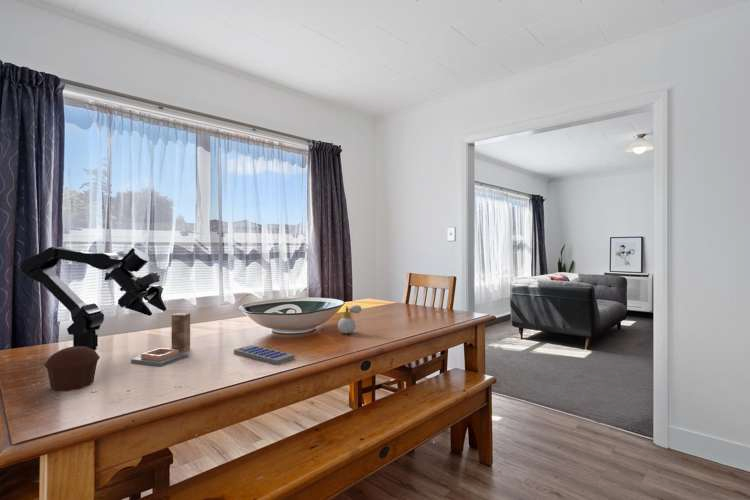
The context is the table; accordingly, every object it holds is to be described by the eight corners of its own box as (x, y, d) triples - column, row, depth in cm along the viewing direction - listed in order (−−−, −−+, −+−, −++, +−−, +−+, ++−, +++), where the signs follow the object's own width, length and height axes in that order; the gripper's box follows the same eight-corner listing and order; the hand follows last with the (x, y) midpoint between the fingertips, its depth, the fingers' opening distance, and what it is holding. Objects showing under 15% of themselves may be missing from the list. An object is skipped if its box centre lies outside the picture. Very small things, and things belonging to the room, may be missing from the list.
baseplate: (131, 362, 123) (131, 354, 123) (159, 353, 134) (159, 345, 134) (160, 366, 120) (160, 358, 120) (187, 356, 130) (187, 349, 130)
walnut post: (171, 352, 135) (171, 315, 135) (177, 348, 139) (177, 312, 139) (184, 352, 135) (184, 315, 135) (190, 348, 139) (190, 312, 139)
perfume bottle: (334, 332, 167) (334, 305, 167) (353, 329, 173) (353, 303, 172) (343, 336, 161) (344, 307, 161) (363, 333, 167) (363, 305, 167)
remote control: (276, 366, 123) (276, 359, 123) (231, 354, 135) (231, 348, 135) (294, 360, 129) (294, 353, 129) (249, 349, 141) (249, 343, 141)
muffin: (54, 397, 95) (54, 356, 95) (37, 387, 101) (36, 349, 101) (107, 382, 105) (107, 346, 105) (89, 375, 111) (89, 340, 111)
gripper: (127, 266, 127) (160, 300, 128) (158, 263, 146) (187, 293, 146) (102, 290, 127) (136, 324, 128) (137, 284, 146) (166, 313, 146)
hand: (158, 312), depth 137 cm, fingers open, 9 cm apart
